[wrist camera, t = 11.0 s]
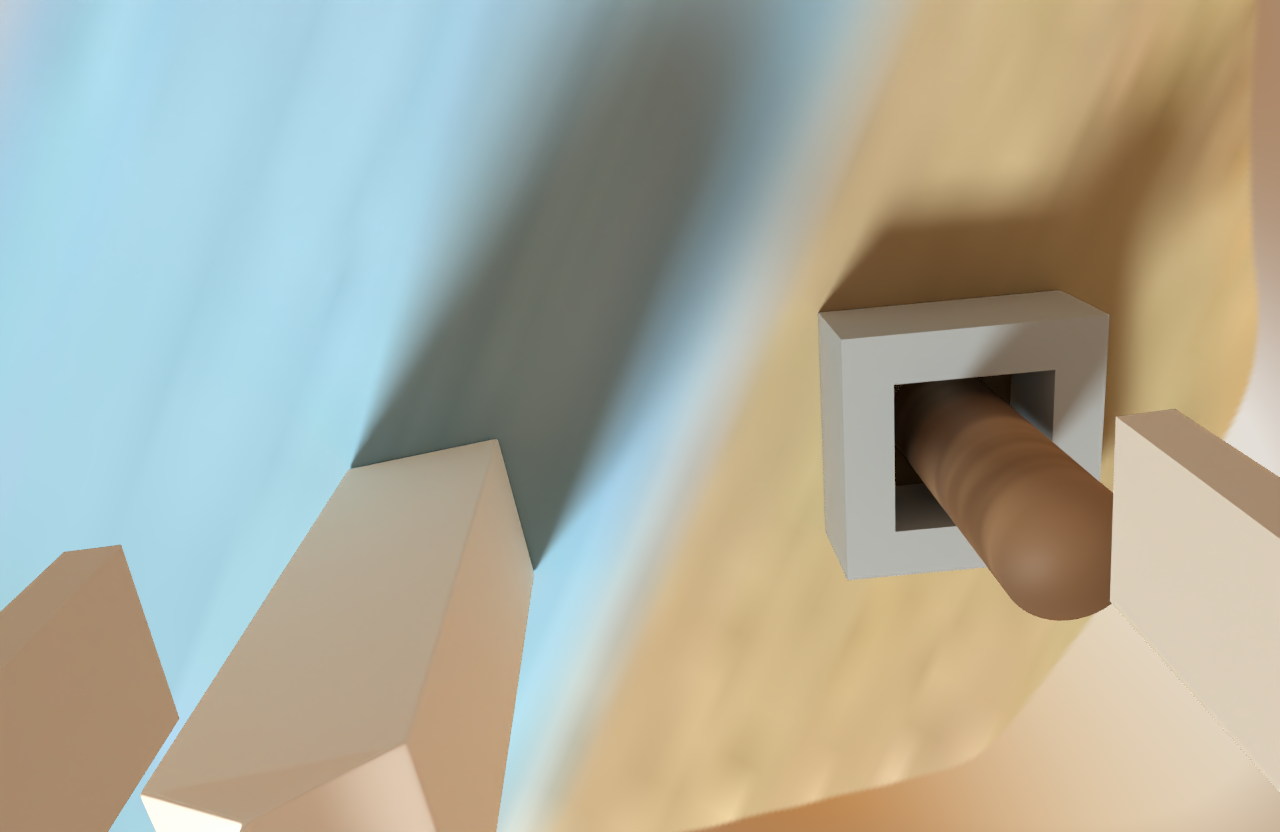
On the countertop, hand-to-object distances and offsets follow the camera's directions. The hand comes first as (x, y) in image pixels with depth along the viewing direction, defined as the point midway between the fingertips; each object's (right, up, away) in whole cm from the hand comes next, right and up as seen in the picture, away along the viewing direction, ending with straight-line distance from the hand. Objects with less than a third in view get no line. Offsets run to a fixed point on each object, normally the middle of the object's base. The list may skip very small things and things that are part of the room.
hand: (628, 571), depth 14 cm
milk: (-8, -2, +27) cm, 28 cm away
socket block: (+12, +2, +26) cm, 29 cm away
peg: (+12, +2, +26) cm, 29 cm away
